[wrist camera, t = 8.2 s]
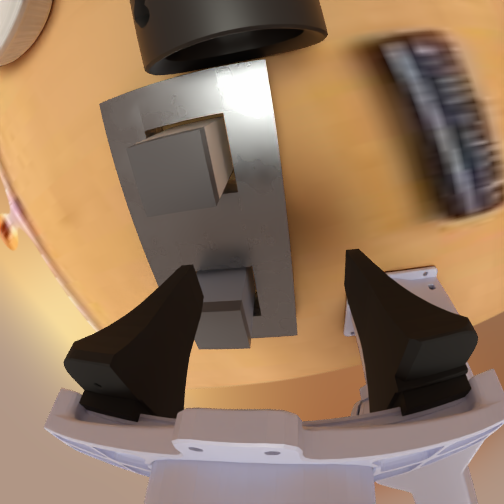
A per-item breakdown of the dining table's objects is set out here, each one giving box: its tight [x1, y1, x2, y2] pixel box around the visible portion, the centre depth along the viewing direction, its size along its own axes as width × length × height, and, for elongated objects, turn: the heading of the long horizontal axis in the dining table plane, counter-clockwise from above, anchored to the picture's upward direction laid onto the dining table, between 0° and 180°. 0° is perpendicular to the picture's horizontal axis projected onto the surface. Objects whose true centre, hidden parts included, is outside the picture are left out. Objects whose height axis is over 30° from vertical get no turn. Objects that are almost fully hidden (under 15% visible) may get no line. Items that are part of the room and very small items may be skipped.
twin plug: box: [194, 266, 255, 349], centre depth 22 cm, size 4×4×7 cm
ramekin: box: [0, 0, 52, 66], centre depth 9 cm, size 11×11×5 cm
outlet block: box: [99, 59, 297, 338], centre depth 21 cm, size 11×22×3 cm, turn 9°
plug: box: [126, 116, 233, 217], centre depth 16 cm, size 4×4×7 cm
